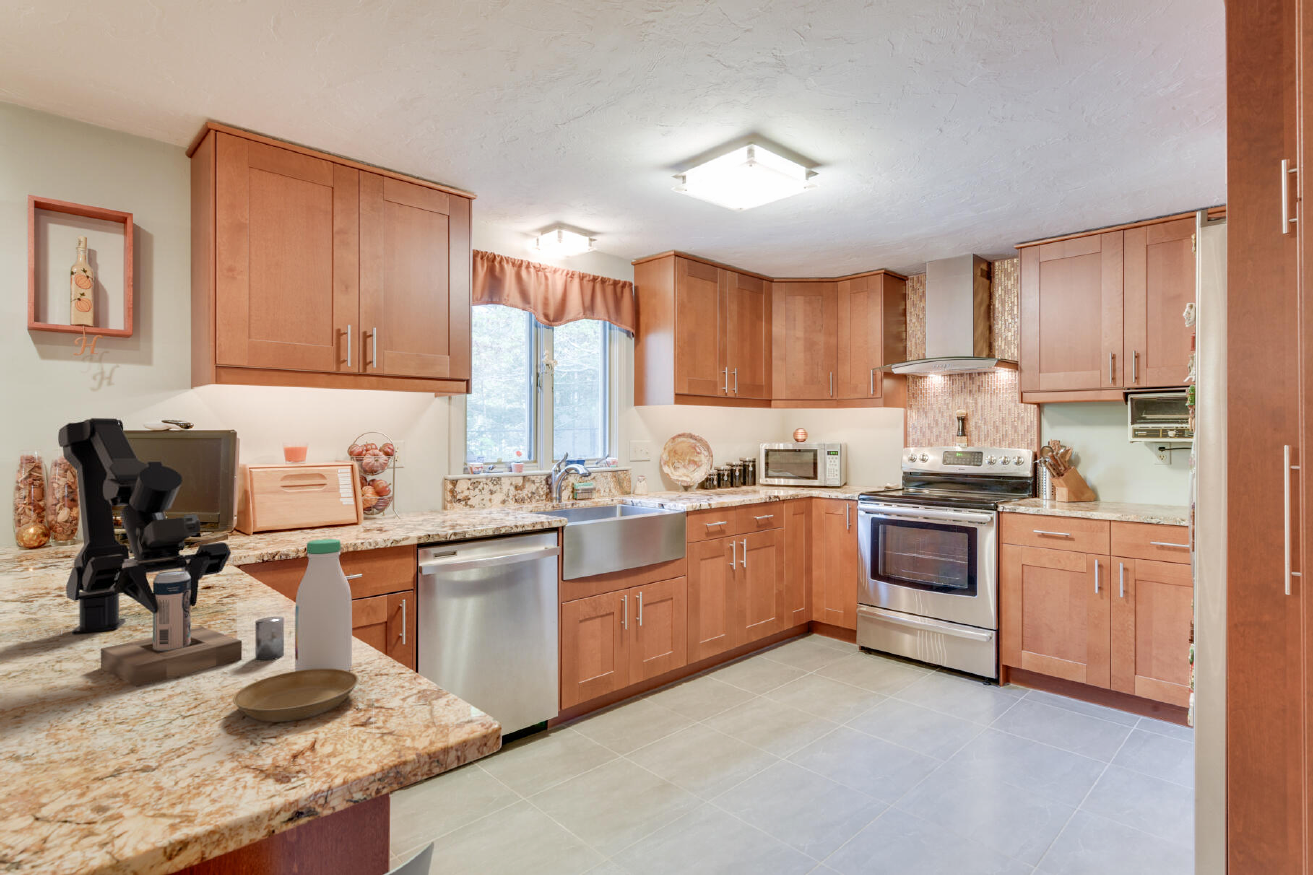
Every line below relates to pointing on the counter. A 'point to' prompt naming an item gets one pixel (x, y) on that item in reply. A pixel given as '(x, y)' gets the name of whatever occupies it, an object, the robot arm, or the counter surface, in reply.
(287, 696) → the plant saucer
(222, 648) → the walnut collar
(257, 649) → the short steel pin
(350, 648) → the milk bottle
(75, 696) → the counter surface
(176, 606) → the beer can
